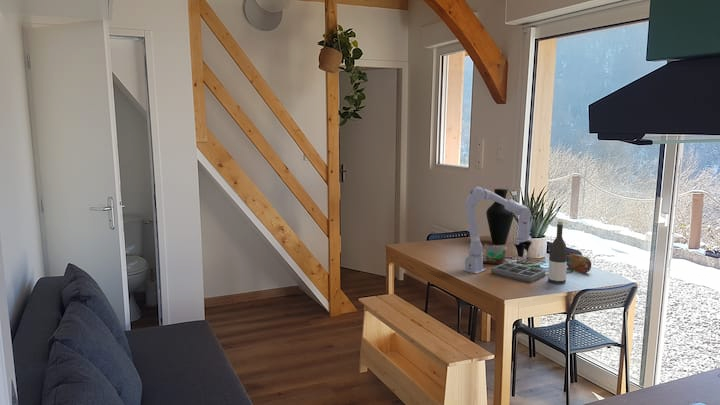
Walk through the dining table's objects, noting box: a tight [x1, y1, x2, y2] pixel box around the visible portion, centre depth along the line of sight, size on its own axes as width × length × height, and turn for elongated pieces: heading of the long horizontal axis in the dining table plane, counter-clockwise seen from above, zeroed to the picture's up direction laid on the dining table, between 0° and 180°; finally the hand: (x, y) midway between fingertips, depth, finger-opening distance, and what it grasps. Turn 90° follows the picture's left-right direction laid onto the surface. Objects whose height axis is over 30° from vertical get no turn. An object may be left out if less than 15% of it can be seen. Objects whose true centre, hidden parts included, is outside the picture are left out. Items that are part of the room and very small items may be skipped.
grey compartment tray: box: [490, 262, 546, 284], centre depth 259 cm, size 15×22×3 cm
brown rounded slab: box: [567, 253, 592, 274], centre depth 266 cm, size 15×3×8 cm, turn 23°
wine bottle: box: [547, 220, 568, 285], centre depth 246 cm, size 8×8×30 cm
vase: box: [485, 188, 515, 246], centre depth 325 cm, size 17×17×35 cm
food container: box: [484, 244, 508, 265], centre depth 281 cm, size 12×6×10 cm, turn 62°
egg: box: [517, 248, 528, 261], centre depth 263 cm, size 4×4×6 cm
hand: (522, 255), depth 263 cm, fingers closed on egg, 4 cm apart
